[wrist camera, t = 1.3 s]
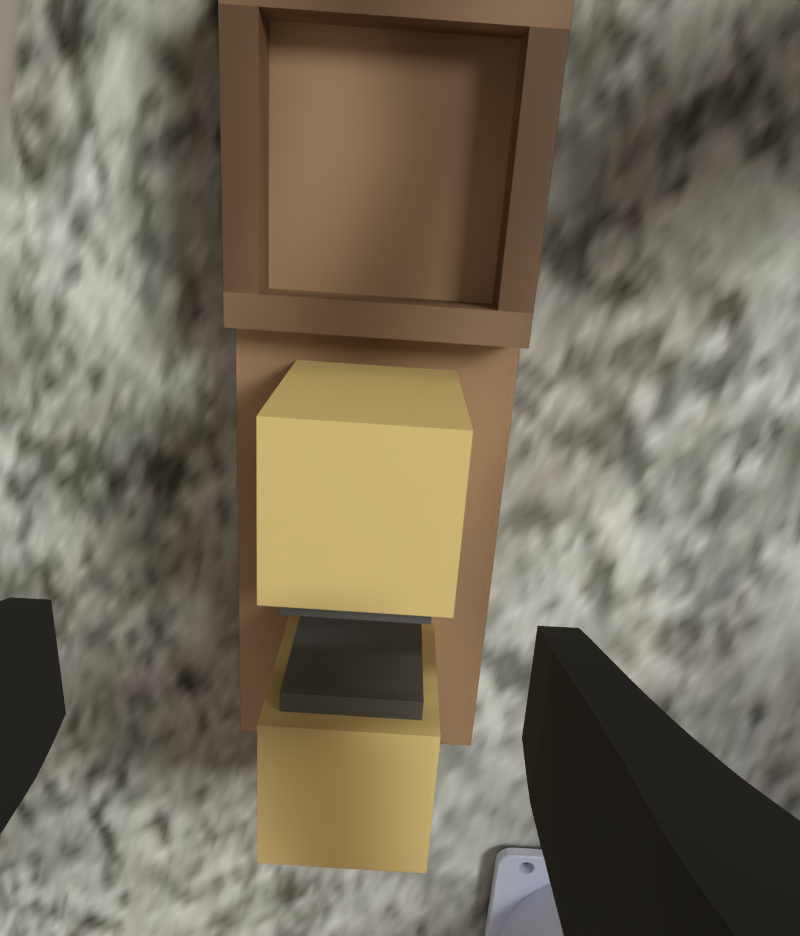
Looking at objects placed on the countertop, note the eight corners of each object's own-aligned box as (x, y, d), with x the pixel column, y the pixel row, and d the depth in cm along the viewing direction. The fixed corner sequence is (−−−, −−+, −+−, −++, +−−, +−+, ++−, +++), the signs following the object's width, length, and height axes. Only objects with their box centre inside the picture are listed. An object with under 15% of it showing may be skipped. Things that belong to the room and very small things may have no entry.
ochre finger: (456, 371, 18) (473, 430, 13) (441, 534, 20) (450, 638, 15) (296, 360, 18) (256, 415, 13) (293, 524, 20) (257, 626, 15)
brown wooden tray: (555, -9, 16) (636, -124, 10) (467, 719, 23) (486, 892, 17) (243, -32, 16) (150, -161, 10) (248, 705, 23) (194, 874, 17)
